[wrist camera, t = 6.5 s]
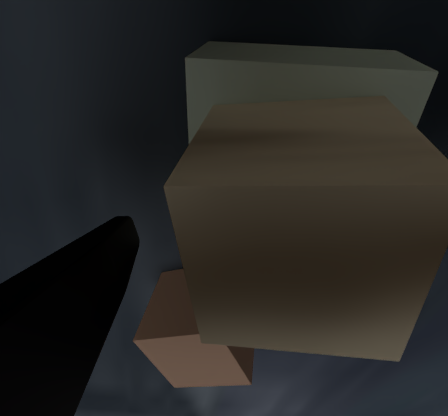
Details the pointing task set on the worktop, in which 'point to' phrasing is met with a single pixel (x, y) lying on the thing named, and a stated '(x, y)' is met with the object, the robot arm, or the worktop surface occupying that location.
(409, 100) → the sage block
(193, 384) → the terracotta cube
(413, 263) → the maple cube
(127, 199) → the worktop surface
